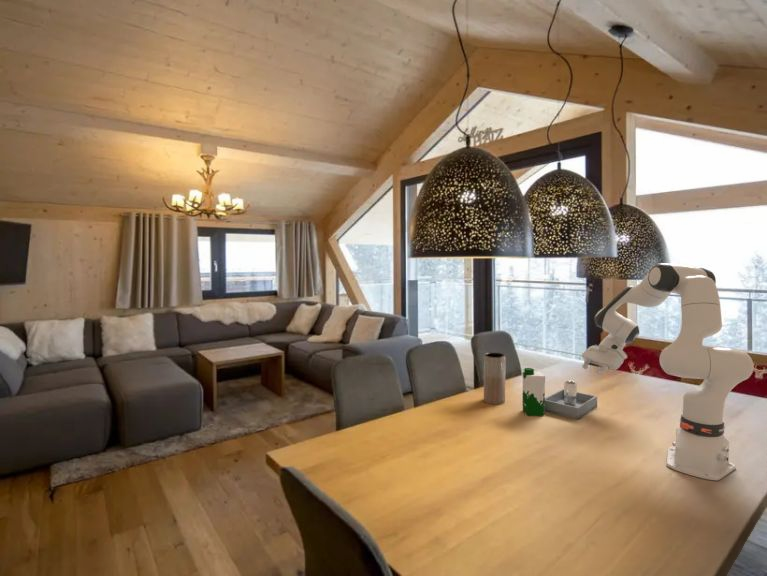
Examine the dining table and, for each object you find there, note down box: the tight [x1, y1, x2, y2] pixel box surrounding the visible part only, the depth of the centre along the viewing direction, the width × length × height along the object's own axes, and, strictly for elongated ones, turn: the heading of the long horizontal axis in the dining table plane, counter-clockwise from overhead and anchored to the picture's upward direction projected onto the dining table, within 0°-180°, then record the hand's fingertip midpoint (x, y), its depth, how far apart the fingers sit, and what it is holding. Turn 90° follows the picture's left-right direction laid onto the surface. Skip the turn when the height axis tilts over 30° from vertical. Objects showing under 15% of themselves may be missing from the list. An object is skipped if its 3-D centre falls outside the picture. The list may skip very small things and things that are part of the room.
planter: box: [483, 352, 507, 405], centre depth 208 cm, size 10×10×23 cm
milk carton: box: [522, 367, 546, 417], centre depth 191 cm, size 9×9×20 cm
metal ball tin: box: [563, 379, 578, 407], centre depth 197 cm, size 5×5×12 cm
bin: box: [544, 388, 598, 420], centre depth 197 cm, size 22×16×5 cm
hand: (590, 370), depth 199 cm, fingers open, 8 cm apart
